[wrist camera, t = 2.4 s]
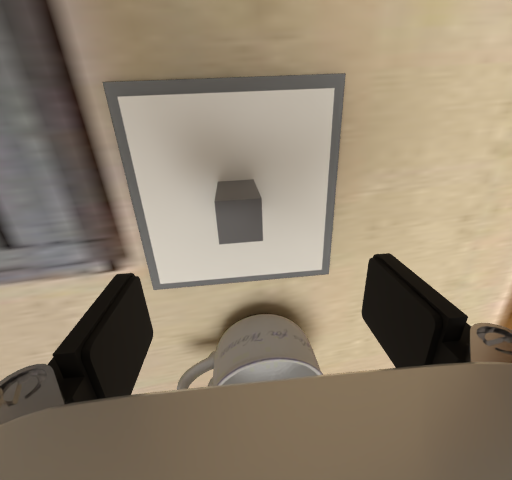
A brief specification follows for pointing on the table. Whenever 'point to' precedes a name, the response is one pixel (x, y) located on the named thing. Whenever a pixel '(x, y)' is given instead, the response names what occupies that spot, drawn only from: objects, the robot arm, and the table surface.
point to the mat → (219, 86)
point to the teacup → (257, 353)
